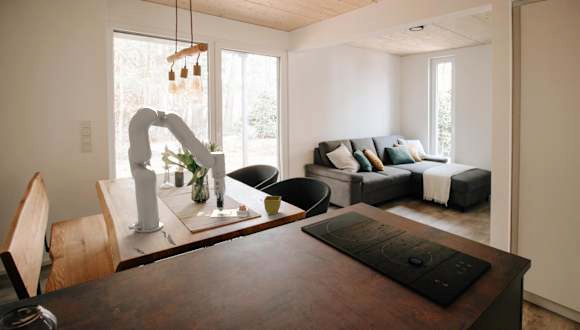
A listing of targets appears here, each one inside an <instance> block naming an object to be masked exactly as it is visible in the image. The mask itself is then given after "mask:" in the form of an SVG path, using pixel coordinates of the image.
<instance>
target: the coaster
mask: <svg viewBox="0 0 580 330" xmlns="http://www.w3.org/2000/svg"><path fill="white" fill-rule="evenodd" d="M211 215H212V211H200V212H198V213H197V214H196V217H210V216H211Z"/></svg>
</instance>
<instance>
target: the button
mask: <svg viewBox="0 0 580 330" xmlns="http://www.w3.org/2000/svg"><path fill="white" fill-rule="evenodd" d="M238 208H239V210H246V209H245V208H246V204H239V207H238Z"/></svg>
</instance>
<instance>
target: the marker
mask: <svg viewBox="0 0 580 330" xmlns="http://www.w3.org/2000/svg"><path fill="white" fill-rule="evenodd" d="M219 195H221V194H219ZM220 197H221V196H220ZM223 198H224V195H222V200H223ZM224 206H225V200H224V201H223V207H220V208H217V210H219V211H223V210H225V207H224Z"/></svg>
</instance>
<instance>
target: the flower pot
mask: <svg viewBox="0 0 580 330" xmlns="http://www.w3.org/2000/svg"><path fill="white" fill-rule="evenodd" d="M281 201H282V196H278V195H266V196H265V198H264V199H263V203H264V204H263V205H264V209H265V212H266V214H267V215H275V214H276V215H278V212H279V210H280V209H281V204H282V203H281Z"/></svg>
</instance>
